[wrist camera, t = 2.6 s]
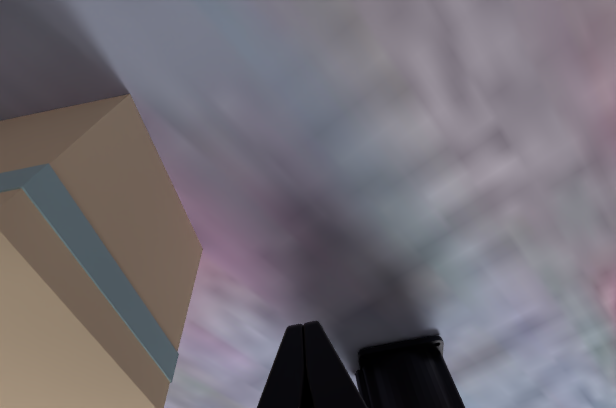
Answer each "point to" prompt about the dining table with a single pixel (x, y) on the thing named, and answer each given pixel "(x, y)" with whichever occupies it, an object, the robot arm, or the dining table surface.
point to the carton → (90, 261)
